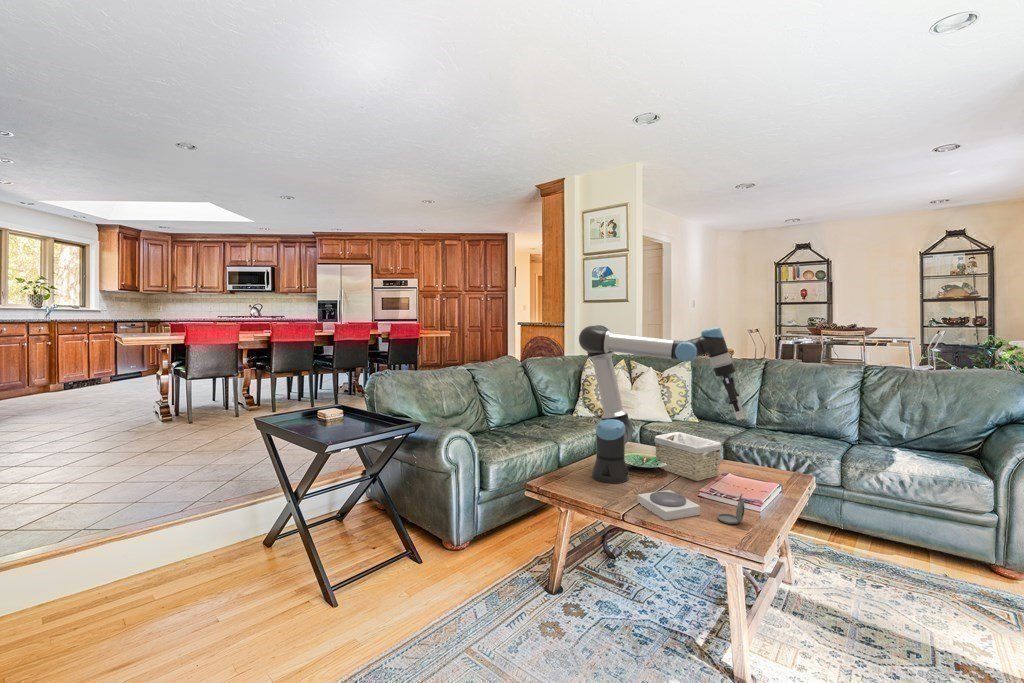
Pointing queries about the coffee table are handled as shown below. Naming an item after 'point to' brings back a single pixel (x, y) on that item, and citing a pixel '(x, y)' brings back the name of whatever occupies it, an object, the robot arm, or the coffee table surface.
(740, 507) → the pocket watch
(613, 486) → the coffee table surface
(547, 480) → the coffee table surface
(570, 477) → the coffee table surface
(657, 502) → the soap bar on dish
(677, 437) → the storage basket
